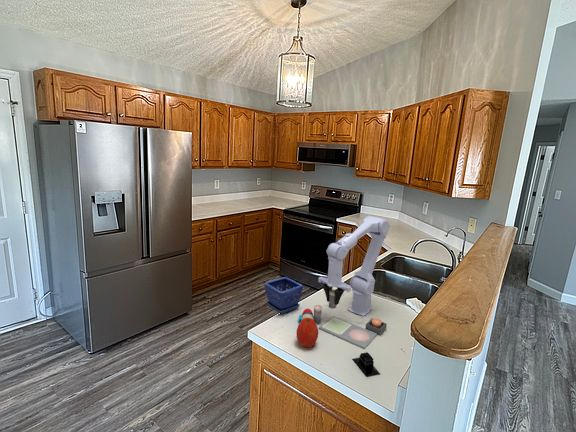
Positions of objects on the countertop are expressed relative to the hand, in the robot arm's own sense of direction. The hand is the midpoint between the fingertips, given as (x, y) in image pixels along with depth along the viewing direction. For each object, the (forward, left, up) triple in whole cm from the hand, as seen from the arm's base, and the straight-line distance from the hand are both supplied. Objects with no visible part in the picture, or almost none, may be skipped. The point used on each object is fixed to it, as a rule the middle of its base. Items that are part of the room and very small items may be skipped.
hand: (332, 302), depth 130 cm
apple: (+20, +1, -9) cm, 22 cm away
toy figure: (+9, -6, -10) cm, 15 cm away
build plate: (+17, +23, -10) cm, 30 cm away
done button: (-7, +17, -7) cm, 20 cm away
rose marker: (+4, -4, -9) cm, 11 cm away
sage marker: (0, 0, -2) cm, 2 cm away
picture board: (+2, +9, -9) cm, 13 cm away
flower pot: (+5, -23, -9) cm, 25 cm away
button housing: (-7, +17, -9) cm, 20 cm away
